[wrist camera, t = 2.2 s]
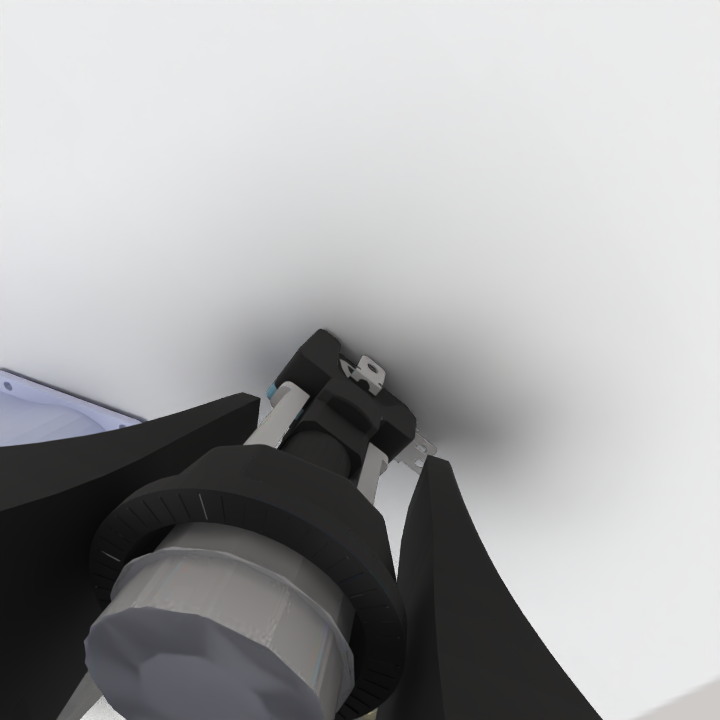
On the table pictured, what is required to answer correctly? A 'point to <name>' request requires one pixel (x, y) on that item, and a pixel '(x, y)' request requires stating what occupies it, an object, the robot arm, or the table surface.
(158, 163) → the table surface
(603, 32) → the table surface
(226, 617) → the push button
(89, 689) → the coffeepot
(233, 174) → the table surface
